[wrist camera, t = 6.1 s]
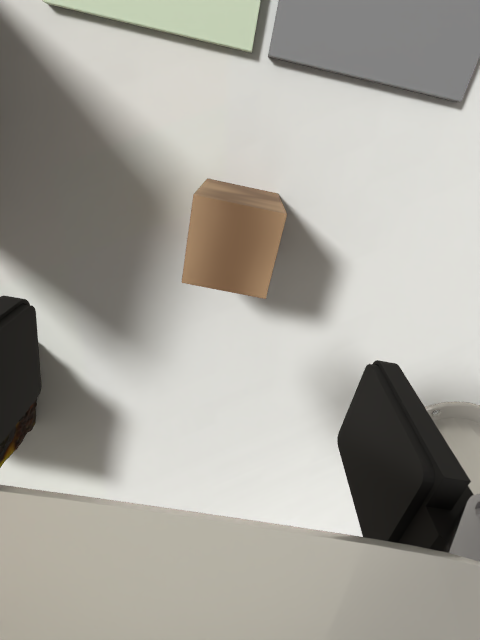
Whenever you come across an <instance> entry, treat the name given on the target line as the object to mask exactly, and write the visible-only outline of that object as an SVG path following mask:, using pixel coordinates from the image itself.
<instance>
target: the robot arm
mask: <svg viewBox="0 0 480 640" xmlns="http://www.w3.org/2000/svg"><path fill="white" fill-rule="evenodd" d="M40 390H41V375H40V362H39V349H38V336H37V323H36V311H35V308H34V307H33V306H30V304H29V302H28V301H27V300H26V299H20V298H14V297H9V296H1V297H0V444H1V443H2V442H3V441H4V439H5V438H6V437H7V436H8V434H9V433H10V432H11V430H12V429H13V428H14V427H15V425H16V424H17V423H18V422H19V420H20V419H21V418H22V417H23V415H24V414H25V413H26V412H27V410H28V409H29V408H30V407H31V405H32V404H33V403H34V401H35V400H36V399H37V397H38V396H39V394H40ZM435 410H439V412H438V413H437V414H432V412H433V411H435ZM338 447H339V451H340V455H341V458H342V462H343V466H344V469H345V473H346V476H347V480H348V484H349V487H350V491H351V495H352V498H353V502H354V505H355V509H356V513H357V516H358V520H359V524H360V527H361V531H362V534H363V537H359V536H353V535H347V534H340V533H334V532H327V531H320V530H314V529H307V528H300V527H293V526H287V525H280V524H273V523H267V522H260V521H253V520H246V519H240V518H233V517H226V516H219V515H212V514H205V513H198V512H191V511H184V510H178V509H171V508H164V507H157V506H150V505H143V504H135V503H128V502H121V501H114V500H107V499H100V498H93V497H86V496H79V495H71V494H64V493H57V492H50V491H42V490H35V489H28V488H21V487H13V486H6V485H0V640H480V405H477V404H473V403H468V402H443V403H438V404H433V405H429V406H426V407H424V405H423V404H422V402H421V401H420V399H419V397H418V396H417V394H416V393H415V391H414V389H413V388H412V386H411V385H410V383H409V381H408V380H407V378H406V377H405V375H404V373H403V372H402V370H401V369H400V367H399V366H398V365H397V364H395V363H389V362H383V361H378V360H377V361H375V362H374V363H373V364H372V365H371V364H369V365H367V366H366V368H365V370H364V373H363V375H362V378H361V380H360V382H359V385H358V387H357V390H356V392H355V395H354V397H353V399H352V402H351V404H350V407H349V409H348V412H347V414H346V416H345V419H344V421H343V424H342V426H341V429H340V431H339V434H338Z"/></svg>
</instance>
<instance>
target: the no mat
mask: <svg viewBox="0 0 480 640" xmlns="http://www.w3.org/2000/svg"><path fill="white" fill-rule="evenodd" d="M268 57H271V58H275V59H279V60H283V61H288V62H292V63H296V64H300V65H304V66H308V67H313V68H317V69H321V70H325V71H329V72H334V73H338V74H342V75H346V76H350V77H354V78H359V79H363V80H367V81H371V82H375V83H380V84H384V85H388V86H392V87H396V88H400V89H405V90H409V91H413V92H417V93H421V94H426V95H430V96H434V97H438V98H442V99H446V100H451V101H455V102H460V101H462V99H463V96H464V94H465V91H466V89H467V87H468V84H469V82H470V79H471V77H472V74H473V72H474V70H475V67H476V65H477V62H478V60H479V57H480V0H279V2H278V7H277V13H276V18H275V23H274V28H273V33H272V39H271V44H270V49H269V54H268Z"/></svg>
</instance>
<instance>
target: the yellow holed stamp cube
mask: <svg viewBox="0 0 480 640" xmlns="http://www.w3.org/2000/svg"><path fill="white" fill-rule="evenodd" d="M36 401H37V399H36V400H35V401H34V403H33V404H32V405H31V407H30V408H29V409H28V410H27V412H26V413H25V414H24V415H23V417H22V418H21V419H20V420H19V422H18V423H17V424H16V425H15V427H14V428H13V429H12V430H11V432H10V433H9V434H8V436H7V437H6V438H5V439H4V441H3V442H2V443H1V444H0V467H1V466H2V464H3V463H4V462H5V460H7V459H8V458H9V457H10V455H11V454H12V453H13V452H14V451H15V450H16V449H17V448H18V446H19V445H20V444H21V442H22V441H23V439H24V437H25V435H26V434H27V432H30V431H31V430H32V428H33V426H34V425H35V419H36V409H35V407H36V405H37V403H36Z"/></svg>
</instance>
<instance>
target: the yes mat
mask: <svg viewBox="0 0 480 640" xmlns="http://www.w3.org/2000/svg"><path fill="white" fill-rule="evenodd" d="M42 1H43V2H45V3H47V4H49V5H53V6H58V7H62V8H66V9H70V10H74V11H78V12H83V13H87V14H91V15H95V16H99V17H104V18H108V19H112V20H116V21H120V22H124V23H129V24H133V25H137V26H141V27H145V28H150V29H154V30H158V31H162V32H166V33H170V34H175V35H179V36H183V37H187V38H191V39H196V40H200V41H204V42H208V43H212V44H216V45H221V46H225V47H229V48H233V49H237V50H242V51H246V52H250V53H252V48H253V42H254V37H255V31H256V25H257V20H258V14H259V8H260V2H261V0H42Z"/></svg>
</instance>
